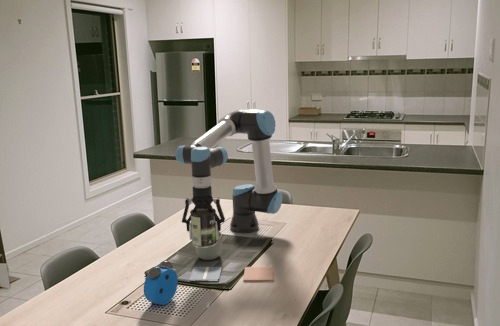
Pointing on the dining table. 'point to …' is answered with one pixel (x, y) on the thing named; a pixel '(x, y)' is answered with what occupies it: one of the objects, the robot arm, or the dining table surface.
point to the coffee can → (203, 228)
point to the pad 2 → (258, 274)
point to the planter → (211, 250)
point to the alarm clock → (161, 284)
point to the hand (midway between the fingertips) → (204, 238)
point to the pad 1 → (205, 273)
